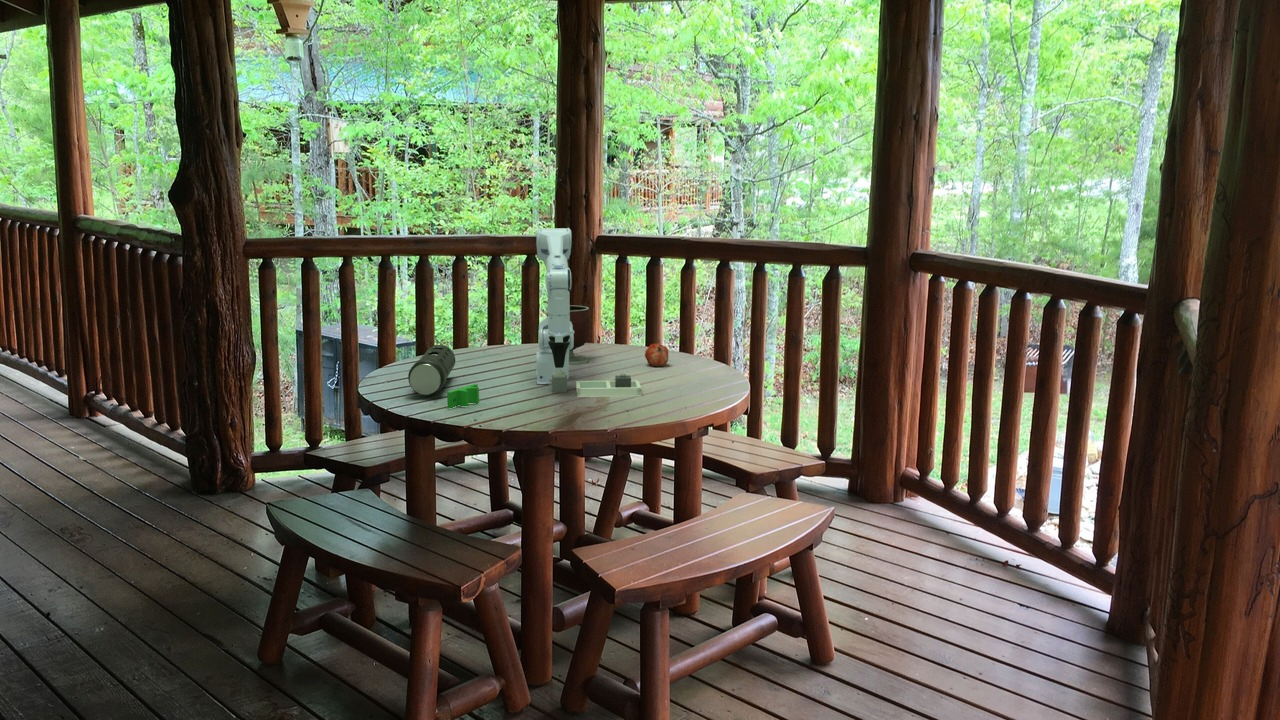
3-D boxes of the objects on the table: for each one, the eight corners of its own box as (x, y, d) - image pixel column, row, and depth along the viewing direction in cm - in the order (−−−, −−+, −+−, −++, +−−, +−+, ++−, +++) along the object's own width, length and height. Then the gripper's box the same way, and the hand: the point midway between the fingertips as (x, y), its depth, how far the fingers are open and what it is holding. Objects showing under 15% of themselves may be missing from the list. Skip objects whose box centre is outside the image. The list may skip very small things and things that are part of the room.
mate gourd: (578, 355, 319) (577, 295, 315) (598, 362, 307) (598, 300, 303) (535, 360, 311) (534, 298, 307) (554, 367, 299) (553, 303, 295)
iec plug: (552, 396, 260) (551, 372, 258) (552, 393, 264) (551, 369, 262) (567, 396, 260) (566, 372, 259) (567, 393, 264) (566, 369, 263)
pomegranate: (642, 371, 305) (645, 357, 296) (644, 351, 309) (647, 336, 300) (665, 374, 306) (669, 359, 297) (667, 353, 309) (671, 338, 300)
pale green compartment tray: (576, 401, 255) (576, 389, 254) (576, 391, 265) (576, 380, 265) (641, 400, 256) (641, 388, 255) (638, 391, 267) (638, 379, 266)
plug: (616, 393, 259) (616, 375, 258) (615, 390, 263) (615, 372, 262) (631, 393, 259) (631, 375, 258) (630, 389, 263) (630, 372, 262)
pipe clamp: (459, 411, 244) (458, 393, 243) (447, 409, 246) (446, 392, 245) (486, 402, 254) (485, 384, 253) (474, 400, 255) (474, 383, 255)
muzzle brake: (457, 378, 283) (456, 343, 281) (444, 400, 255) (442, 361, 253) (423, 378, 282) (422, 343, 280) (407, 400, 255) (405, 361, 253)
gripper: (574, 318, 251) (574, 369, 253) (573, 310, 265) (574, 359, 268) (546, 318, 250) (547, 370, 253) (547, 310, 265) (548, 359, 267)
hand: (559, 364), depth 260 cm, fingers open, 7 cm apart
